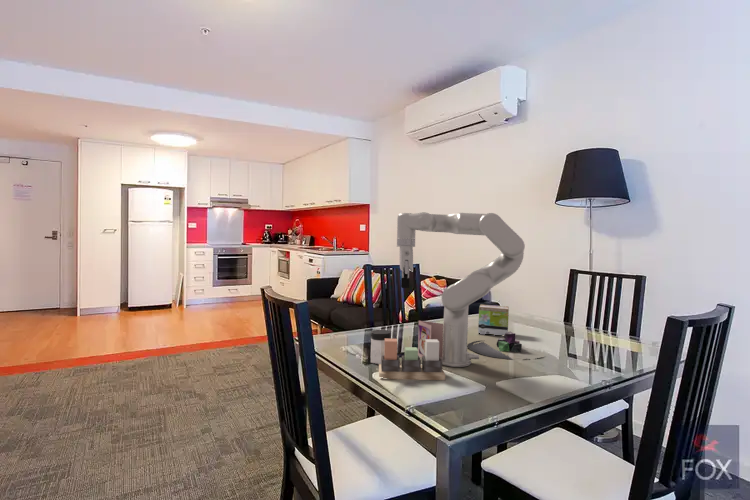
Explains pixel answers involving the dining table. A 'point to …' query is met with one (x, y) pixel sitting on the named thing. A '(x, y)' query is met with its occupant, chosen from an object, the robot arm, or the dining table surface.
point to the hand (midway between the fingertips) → (405, 287)
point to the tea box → (493, 319)
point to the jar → (378, 344)
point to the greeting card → (429, 336)
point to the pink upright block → (390, 349)
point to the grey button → (431, 350)
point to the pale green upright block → (411, 353)
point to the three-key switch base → (411, 369)
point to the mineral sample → (503, 345)
